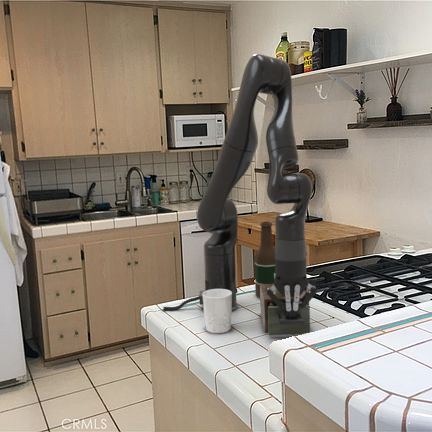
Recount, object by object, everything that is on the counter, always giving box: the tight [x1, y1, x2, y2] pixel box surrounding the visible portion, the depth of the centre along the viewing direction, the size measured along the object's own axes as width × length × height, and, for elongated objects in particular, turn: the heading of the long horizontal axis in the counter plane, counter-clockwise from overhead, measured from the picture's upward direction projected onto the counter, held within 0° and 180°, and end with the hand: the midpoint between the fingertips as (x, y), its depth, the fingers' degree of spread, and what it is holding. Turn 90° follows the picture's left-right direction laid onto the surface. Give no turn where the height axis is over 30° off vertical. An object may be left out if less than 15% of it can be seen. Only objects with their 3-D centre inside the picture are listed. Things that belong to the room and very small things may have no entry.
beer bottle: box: [254, 221, 275, 299], centre depth 160 cm, size 8×8×24 cm
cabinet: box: [259, 284, 310, 334], centre depth 137 cm, size 14×12×9 cm
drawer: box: [267, 302, 311, 336], centre depth 131 cm, size 17×10×7 cm, turn 179°
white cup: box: [202, 289, 233, 334], centre depth 135 cm, size 8×8×10 cm
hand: (291, 324), depth 124 cm, fingers closed
